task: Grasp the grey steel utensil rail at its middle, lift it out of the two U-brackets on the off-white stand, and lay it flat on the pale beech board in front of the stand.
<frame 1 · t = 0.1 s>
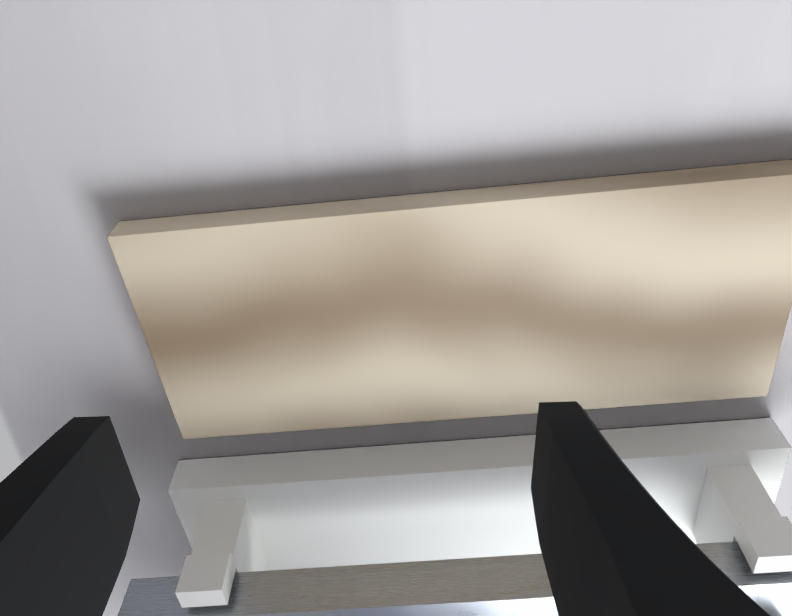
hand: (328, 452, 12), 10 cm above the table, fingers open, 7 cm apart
steel rail: (481, 575, 23), point 4 cm above the table, touching bracket stand
beech board: (460, 305, 22), on the table
bracket stand: (470, 485, 26), on the table
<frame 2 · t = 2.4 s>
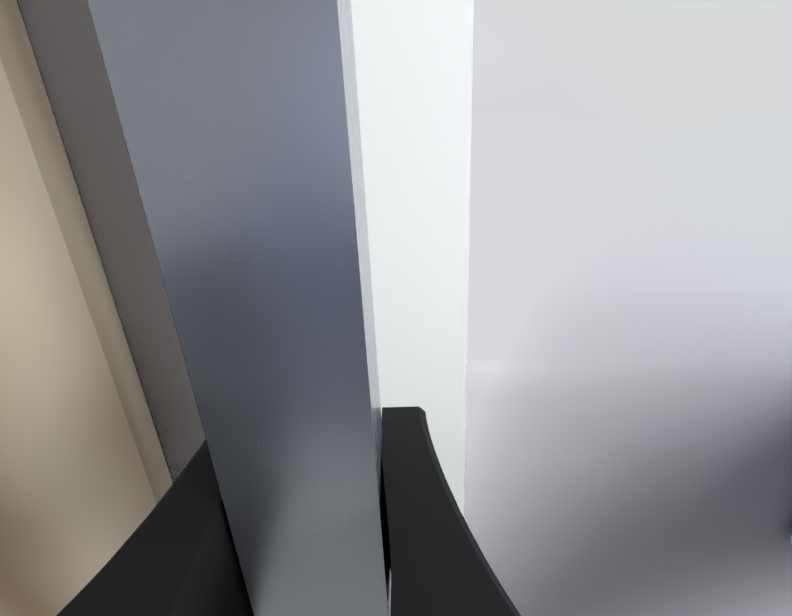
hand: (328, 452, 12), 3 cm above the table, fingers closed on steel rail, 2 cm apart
steel rail: (324, 488, 11), point 4 cm above the table, touching bracket stand, gripper
bracket stand: (341, 341, 14), on the table
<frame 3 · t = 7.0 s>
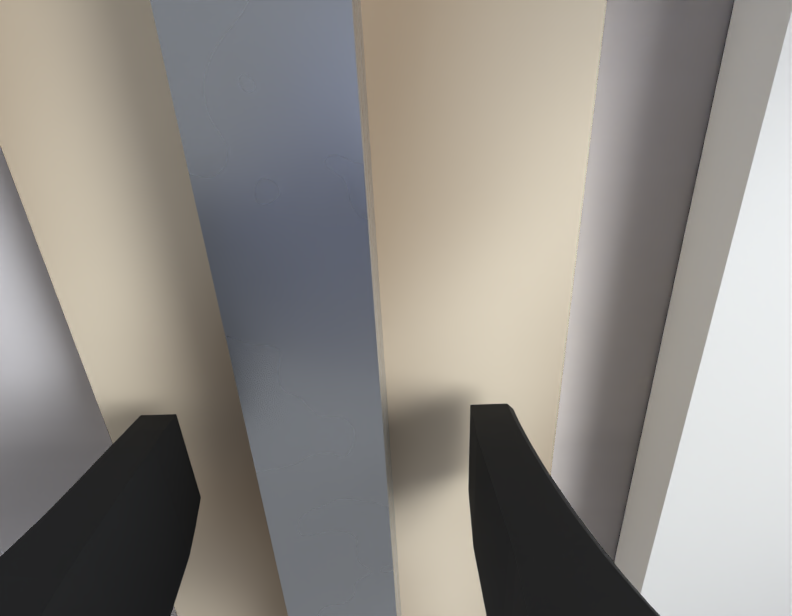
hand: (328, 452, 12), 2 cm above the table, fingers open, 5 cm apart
steel rail: (332, 428, 12), point 1 cm above the table, touching beech board
beech board: (335, 391, 13), on the table
bracket stand: (787, 376, 13), on the table
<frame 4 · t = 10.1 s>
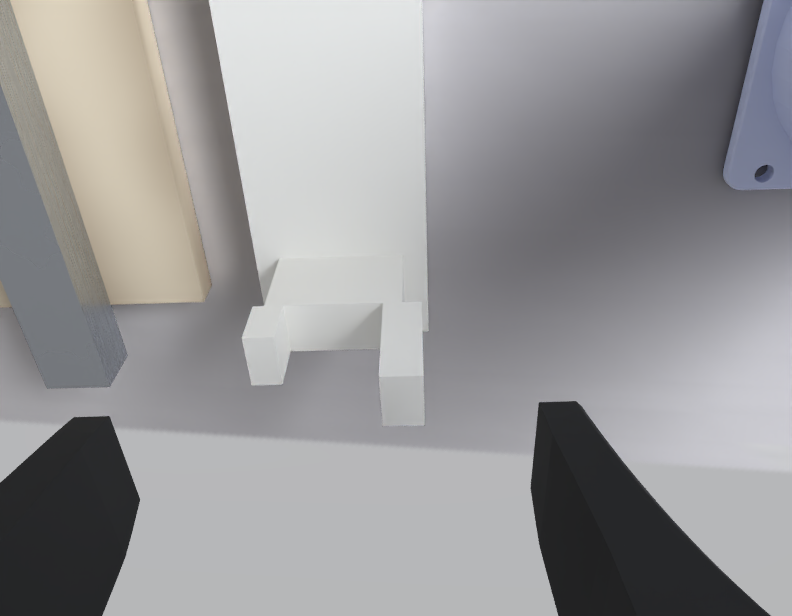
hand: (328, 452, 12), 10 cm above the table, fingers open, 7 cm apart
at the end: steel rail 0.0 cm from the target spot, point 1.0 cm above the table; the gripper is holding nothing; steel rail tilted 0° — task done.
